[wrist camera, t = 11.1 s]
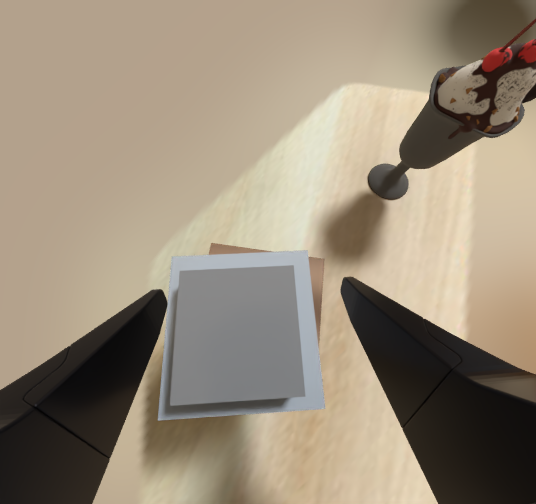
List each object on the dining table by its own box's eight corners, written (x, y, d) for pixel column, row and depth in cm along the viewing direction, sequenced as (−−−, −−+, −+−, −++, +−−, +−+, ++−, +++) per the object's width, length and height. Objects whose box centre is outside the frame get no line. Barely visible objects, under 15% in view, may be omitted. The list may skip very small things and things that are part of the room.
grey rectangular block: (289, 346, 16) (335, 426, 5) (222, 350, 16) (138, 441, 5) (284, 280, 18) (313, 243, 7) (223, 283, 17) (158, 249, 7)
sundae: (351, 188, 23) (503, -2, 9) (374, 150, 25) (535, -66, 10) (401, 216, 22) (659, 59, 8) (422, 175, 24) (669, -20, 9)
